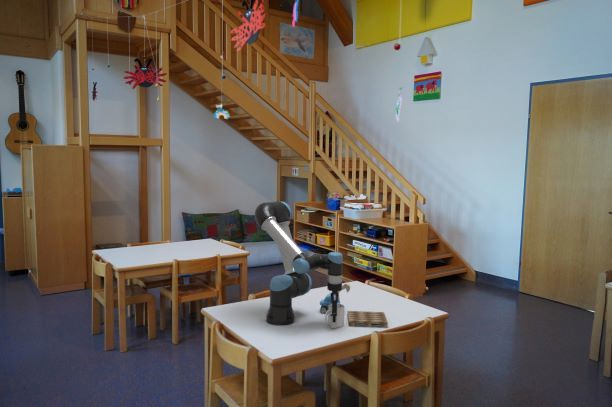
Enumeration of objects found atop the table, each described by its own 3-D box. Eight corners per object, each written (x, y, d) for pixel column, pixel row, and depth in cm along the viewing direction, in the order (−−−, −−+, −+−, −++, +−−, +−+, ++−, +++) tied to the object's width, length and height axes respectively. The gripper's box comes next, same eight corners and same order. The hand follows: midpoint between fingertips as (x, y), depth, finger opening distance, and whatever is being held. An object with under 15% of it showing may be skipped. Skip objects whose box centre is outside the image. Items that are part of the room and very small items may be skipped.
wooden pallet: (348, 326, 256) (349, 320, 255) (347, 316, 272) (347, 310, 271) (387, 327, 255) (387, 321, 255) (383, 317, 271) (383, 312, 271)
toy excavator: (348, 316, 272) (349, 285, 270) (318, 313, 275) (319, 283, 274) (349, 311, 280) (350, 281, 279) (321, 308, 284) (321, 279, 282)
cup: (347, 325, 257) (347, 306, 256) (330, 330, 249) (331, 310, 248) (336, 321, 263) (336, 302, 262) (319, 325, 255) (320, 306, 254)
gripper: (342, 288, 244) (341, 332, 246) (341, 277, 266) (340, 317, 268) (327, 287, 244) (326, 331, 246) (327, 277, 266) (326, 317, 268)
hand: (333, 324), depth 257 cm, fingers open, 9 cm apart
